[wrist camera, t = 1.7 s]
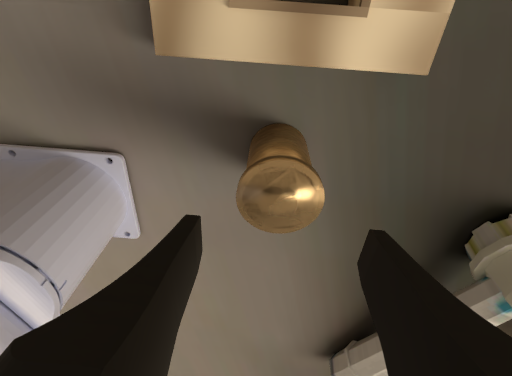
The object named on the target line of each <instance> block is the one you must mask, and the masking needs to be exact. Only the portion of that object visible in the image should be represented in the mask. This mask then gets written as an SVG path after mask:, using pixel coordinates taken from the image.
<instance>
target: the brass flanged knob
mask: <svg viewBox="0 0 512 376" xmlns="http://www.w3.org/2000/svg"><path fill="white" fill-rule="evenodd" d="M324 199H325V195H324V189H323V185H322V182H321V179H320V177H319V175H318V173H317V172H316V171H315V169H314V168H313V167H312V165H311V161H310V157H309V153H308V148H307V144H306V141H305V139H304V137H303V135H302V134H301V133H300V132H299V131H298V130H297V129H296V128H294V127H292V126H290V125H287V124H278V123H277V124H271V125H268V126H265V127H264V128H262V129H261V130H259V131H258V132H257V133H256V134H255V136H254V137H253V139H252V141H251V144H250V150H249V156H248V162H247V168H246V170H245V172H244V173H243V174H242V176H241V178H240V180H239V183H238V187H237V193H236V202H237V206H238V209H239V211H240V213H241V215H242V216H243V217H244V219H245V220H246V221H247V222H249V223H250V224H251V225H253V226H254V227H256V228H258V229H260V230H263V231H266V232H270V233H289V232H294V231H297V230H300V229H302V228H304V227H306V226H307V225H309V224H310V223H311V222H313V221H314V220H315V219H316V218H317V216H318V215H319V214H320V212H321V210H322V208H323V205H324Z"/></svg>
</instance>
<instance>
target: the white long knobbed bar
mask: <svg viewBox="0 0 512 376" xmlns="http://www.w3.org/2000/svg"><path fill="white" fill-rule="evenodd" d="M472 233H473V236H472V238H471V239H470V240H469V242H468V243H467V244H465V249H466V253H467V255H468V257H469V259H470V261H471V262H470V263H469V266H470V270H471V274H472V276H473V278H474V280H475V281H476V282H475V283H473V284H471V285H469V286H467V287H465V288H463V289H461V290H459V291H457V292H455V293H453V295H454V296H455V297H456V298H458V299H459V300H460V301H462V302H463V303H464V304H465V305H467V306H468V307H469V308H471V309H472V310H473V311H475V312H476V313H477V314H479V315H480V316H481V317H483V318H484V319H486V320H487V321H488V322H490V323H491V324H493V325H494V326H497V325H500V324H502V323H504V322H506V321H508V320H510V319H512V214H509V217H508V219H505V220H502V221H499V222H496V223H491V222H489V221H487V222H486V223H484V224H483V225H481V226H480V227H478V228H477V229H475V230H473V231H472ZM329 361H330V374H331V376H388V373H387V368H386V364H385V360H384V355H383V351H382V347H381V344H380V340H379V337H378V334H377V332H376V333H374V334H372V335H370V336H368V337H366V338H364V339H362V340H360V341H358V342H357V341H354V340H353V341H351V342H350V343H349V344H348V346H347V347H346V348H345V349H343V350H341V351H340V352H338V353H337V354H335V355H334V356H333V357H332V358H331V359H330V360H329Z"/></svg>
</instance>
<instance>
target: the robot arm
mask: <svg viewBox="0 0 512 376" xmlns="http://www.w3.org/2000/svg"><path fill="white" fill-rule="evenodd" d="M13 151H14V152H15V153H14V152H13ZM108 158H111V159H112V161H113V162H112V161H110V160H109V159H108ZM127 232H128V233H127ZM139 235H140V228H139V223H138V219H137V214H136V209H135V205H134V200H133V195H132V191H131V186H130V181H129V176H128V172H127V167H126V162H125V159H124V157H123V156H122V155H121V154H119V153H111V152H98V151H85V150H72V149H59V148H46V147H34V146H21V145H8V144H0V376H167V374H168V370H169V365H170V361H171V357H172V353H173V349H174V345H175V340H176V336H177V332H178V329H179V326H180V322H181V319H182V316H183V313H184V311H185V308H186V305H187V302H188V299H189V296H190V293H191V290H192V288H193V285H194V282H195V279H196V276H197V273H198V269H199V264H200V260H201V255H202V234H201V217H200V216H197V215H185V216H184V217H183V218H182V219H181V220H180V221H179V223H178V224H177V225H176V226H175V227H174V228H173V229H172V230H171V231H170V232H169V233H168V234H167V235H166V236H165V237H164V238H163V239H162V240H161V241H160V242H159V243H158V244H157V245H156V246H155V247H154V248H153V249H152V250H151V251H150V252H149V253H148V254H147V255H146V256H145V257H143V258H142V259H141V260H140V261H139V262H138V263H137V264H136V265H134V266H133V267H132V268H131V269H129V270H128V271H127V272H126V273H124V274H123V275H122V276H121V277H119V278H118V279H117V280H115V281H114V282H112V283H111V284H110V285H108V286H107V287H105V288H104V289H102V290H101V291H99V292H98V293H97V294H95V295H94V296H92V297H91V298H89V299H87V300H86V301H84V302H82V303H81V304H79V305H78V306H76V307H74V308H72V309H71V310H69V311H67V312H65V313H64V314H62V315H60V311H61V309H62V308H63V306H64V305H65V304H66V302H67V301H68V299H69V298H70V296H71V295H72V294H73V292H74V291H75V289H76V288H77V286H78V285H79V284H80V282H81V281H82V279H83V278H84V276H85V275H86V274H87V272H88V271H89V269H90V268H91V266H92V265H93V264H94V262H95V261H96V259H97V258H98V256H99V255H100V254H101V252H102V251H103V249H104V248H105V246H106V245H107V244H108V242H109V241H110V239H111V238H112V237H120V238H132V239H136V238H138V237H139ZM357 265H358V270H359V276H360V281H361V286H362V289H363V292H364V295H365V298H366V301H367V304H368V307H369V310H370V313H371V316H372V319H373V322H374V325H375V328H376V331H377V334H378V337H379V340H380V344H381V347H382V351H383V355H384V360H385V364H386V368H387V373H388V376H512V337H510V336H509V335H507V334H506V333H504V332H503V331H502V330H500V329H499V328H497V327H496V326H494V325H493V324H491V323H490V322H488V321H487V320H486V319H484V318H483V317H481V316H480V315H479V314H477V313H476V312H475V311H473V310H472V309H471V308H469V307H468V306H467V305H465V304H464V303H463V302H462V301H460V300H459V299H458V298H456V297H455V296H454V295H453V294H452V293H450V292H449V291H448V290H447V289H446V288H444V287H443V286H442V285H441V284H440V283H439V282H438V281H436V280H435V279H434V278H433V277H432V276H431V275H430V274H429V273H427V272H426V271H425V270H424V269H423V268H422V267H421V266H420V265H419V264H418V263H417V262H416V261H415V260H414V259H413V258H412V257H411V256H410V255H409V254H408V253H407V252H406V251H405V250H404V249H403V248H402V247H401V246H400V245H399V244H398V243H397V242H395V241H394V240H393V239H392V238H391V237H390V236H389V235H388V234H387V233H386V232H385V231H382V230H369V233H368V235H367V238H366V241H365V243H364V246H363V249H362V252H361V254H360V257H359V260H358V263H357Z"/></svg>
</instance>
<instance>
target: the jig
mask: <svg viewBox="0 0 512 376" xmlns="http://www.w3.org/2000/svg"><path fill="white" fill-rule="evenodd" d="M454 2H455V0H349V1H348V6H344V5H330V4H316V3H302V2H289V1H275V0H149V3H150V11H151V20H152V28H153V36H154V45H155V53H156V55H162V56H176V57H189V58H203V59H216V60H229V61H243V62H256V63H270V64H283V65H297V66H310V67H323V68H337V69H350V70H364V71H377V72H391V73H404V74H417V75H428V72H429V70H430V67H431V64H432V61H433V59H434V56H435V53H436V51H437V48H438V45H439V43H440V40H441V37H442V34H443V32H444V29H445V26H446V24H447V21H448V18H449V15H450V13H451V10H452V7H453V5H454Z"/></svg>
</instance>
